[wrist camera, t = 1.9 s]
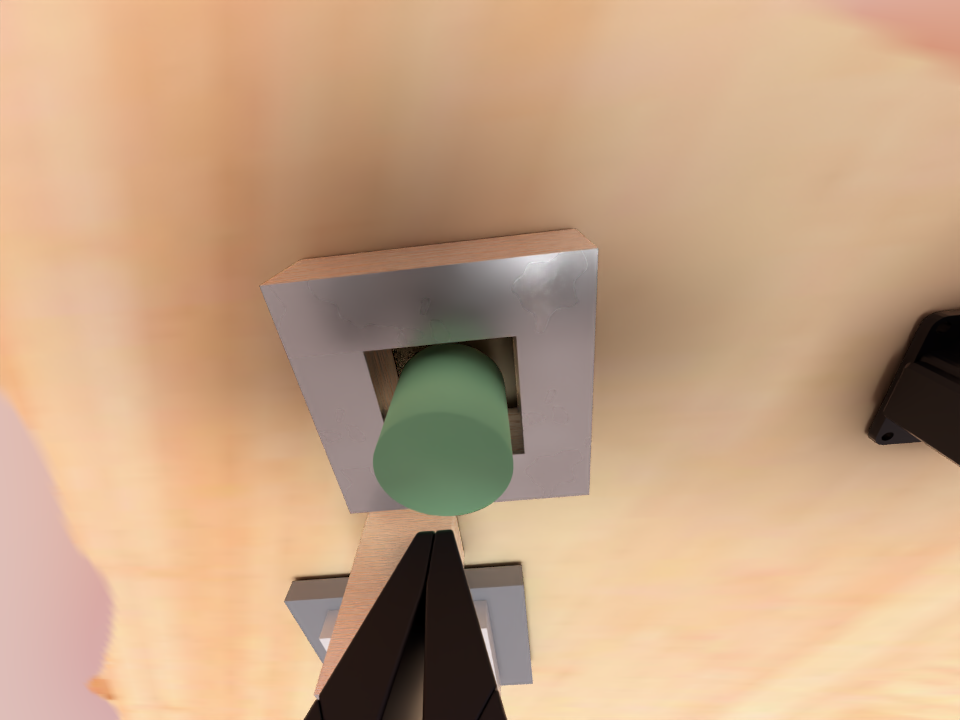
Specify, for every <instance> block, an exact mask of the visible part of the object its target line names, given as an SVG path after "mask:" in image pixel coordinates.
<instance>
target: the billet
mask: <svg viewBox="0 0 960 720" xmlns="http://www.w3.org/2000/svg"><path fill="white" fill-rule="evenodd" d="M448 529H451V530H453V532H454V535H455V539H456V542H457V546H458V549H459V553H460V557H461V560H462V564H463V567H464V550H463V545H462V541H461V536H460V531H459V526H458V521H457V516H435V515H428V514H424V513H420V512H417V511H414V510H411V509H400V510H388V511H375V512H369V513H368V516H367V519H366V523H365V526H364V529H363V533H362V536H361V539H360V543H359V546H358V549H357V553H356V556H355V559H354V563H353V566H352V569H351V573H350V576H349V579H348V583H347V586H346V589H345V593H344V596H343V599H342V603H341V606H340V609H339V613H338V616H337V619H336V623H335V626H334V629H333V633H332V636H331V639H330V643H329V646H328V649H327V653H326V656H325V659H324V663H323V666H322V669H321V673H320V676H319V679H318V683H317V686H316V689H315V693H314V696H315V697H316V698H317V699H319V694H320V692H321V691H322V689H323V687H324V686H325V684H326V682H327V681H328V679H329V677H330V676H331V674H332V672H333V671H334V669H335V667H336V666H337V664H338V662H339V661H340V659H341V657H342V656H343V654H344V652H345V651H346V649H347V648H348V646H349V644H350V643H351V641H352V639H353V638H354V636H355V634H356V633H357V631H358V629H359V628H360V626H361V624H362V623H363V621H364V619H365V618H366V616H367V614H368V613H369V611H370V609H371V608H372V606H373V605H374V603H375V601H376V600H377V598H378V596H379V595H380V593H381V591H382V590H383V588H384V586H385V585H386V583H387V581H388V580H389V578H390V576H391V575H392V573H393V571H394V570H395V568H396V566H397V565H398V563H399V562H400V560H401V558H402V557H403V555H404V553H405V552H406V550H407V548H408V547H409V545H410V543H411V542H412V540H413V538H414V537H415V535H416V534H417V533H418V532H421V531H434V532H435V533H436V531H438V530H448Z"/></svg>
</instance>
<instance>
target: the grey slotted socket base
mask: <svg viewBox="0 0 960 720" xmlns="http://www.w3.org/2000/svg"><path fill="white" fill-rule="evenodd" d="M464 571H465V574H466V578H467V581H468V585H469V588H470V592H471V595H472V599H473V602H474V606H475V609H476V613H477V616H478V620H479V623H480V627H481V630H482V634H483V638H484V641H485V645H486V648H487V652H488V655H489V659H490V662H491V666H492V669H493V673H494V676H495V680H496V683H497V688H498V691H499V693H500V697H501V690H500V685H518V684H533V681H532V670H531V660H530V649H529V638H528V628H527V617H526V606H525V596H524V585H523V575H522V565H515V566H501V567H486V568H472V569H464ZM348 579H349V577H345V578H331V579H316V580H302V581H293V582H292V584H291V586H290V589H289V591H288V594H287V596H286V598H285V601H284V602H285V604H286V605H287V607H288V608H289V610H290V612H291V613H292V615H293V616H294V618H295V620H296V621H297V623H298V624H299V626H300V628H301V629H302V631H303V632H304V634H305V636H306V637H307V639H308V640H309V642H310V644H311V645H312V647H313V648H314V650H315V652H316V653H317V655H318V657H319V658H320V660H321V661H322V663H324V659H325V656H326V653H327V649H328V646H329V643H330V639H331V636H332V633H333V629H334V626H335V623H336V619H337V616H338V613H339V609H340V606H341V603H342V599H343V596H344V593H345V589H346V586H347V583H348Z"/></svg>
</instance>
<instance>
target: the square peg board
mask: <svg viewBox="0 0 960 720" xmlns="http://www.w3.org/2000/svg"><path fill="white" fill-rule="evenodd" d="M597 273H598V247H597V246H595V245H594V244H593V243H592V242H591V241H589V240H588V239H587V238H586V237H585V236H584V235H582V234H581V233H580V232H579V231H578V230H577V229H566V230H557V231H548V232H539V233H531V234H522V235H513V236H504V237H496V238H487V239H478V240H469V241H460V242H452V243H443V244H434V245H425V246H416V247H408V248H399V249H390V250H381V251H372V252H364V253H355V254H346V255H337V256H329V257H320V258H311V259H302V260H299V261H297V262H296V263H294V264H293V265H291V266H289V267H288V268H286V269H285V270H283V271H282V272H280V273H278V274H277V275H275V276H274V277H272V278H271V279H269V280H267V281H266V282H264V283H263V284H261V285H260V289H261V291H262V294H263V296H264V299H265V301H266V304H267V306H268V309H269V311H270V314H271V316H272V319H273V321H274V324H275V326H276V329H277V331H278V334H279V336H280V339H281V341H282V344H283V346H284V349H285V351H286V354H287V356H288V359H289V361H290V364H291V366H292V369H293V371H294V374H295V376H296V379H297V381H298V384H299V386H300V389H301V391H302V394H303V396H304V399H305V401H306V404H307V406H308V409H309V411H310V414H311V416H312V419H313V421H314V424H315V426H316V429H317V431H318V434H319V436H320V439H321V441H322V444H323V446H324V449H325V451H326V454H327V456H328V459H329V461H330V464H331V466H332V469H333V471H334V474H335V476H336V479H337V481H338V484H339V486H340V489H341V491H342V494H343V496H344V499H345V501H346V504H347V506H348V509H349V511H350V513H362V512H375V511H388V510H400V509H409V508H407V507H405V506H403V505H401V504H400V503H398V502H396V501H395V500H394V499H392V498H391V497H390V496H389V495H388V494H387V493H386V492H385V491H384V490H383V488H382V487H381V486H380V484H379V482H378V481H377V478H376V476H375V473H374V469H373V454H374V451H375V448H376V445H377V442H378V439H379V436H380V433H381V430H382V427H383V424H384V421H385V418H386V415H387V412H388V410H389V407H390V404H391V401H392V398H393V395H394V392H395V389H396V386H397V383H398V380H399V378H398V374H397V370H396V366H395V362H394V358H393V354H392V350H391V349H392V348H402V347H412V346H421V345H431V344H441V343H451V342H461V341H471V340H481V339H491V338H501V337H511V336H512V339H513V352H514V365H515V378H516V391H517V404H518V407H515V408H507V409H508V418H509V427H510V436H511V446H512V455H513V475H512V478H511V481H510V483H509V485H508V487H507V489H506V490H505V491H504V493H503V494H502V495H501V496H500V497H499V498H498V499H497V500H495V501H494V502H502V501H514V500H527V499H539V498H552V497H565V496H577V495H589V484H590V457H591V431H592V405H593V378H594V352H595V325H596V299H597Z"/></svg>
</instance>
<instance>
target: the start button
mask: <svg viewBox="0 0 960 720" xmlns="http://www.w3.org/2000/svg"><path fill="white" fill-rule="evenodd" d="M373 469H374V473H375V476H376V478H377V481H378V482H379V484H380V486H381V487H382V488H383V490H384V491H385V492H386V493H387V494H388V495H389V496H390V497H391V498H392V499H394V500H395V501H396V502H398V503H400V504H401V505H403V506H405V507H407V508H409V509H411V510H414V511H417V512H420V513H424V514H428V515H435V516H457V515H464V514H468V513H472V512H475V511H478V510H480V509H482V508H485V507H486V506H488V505H490V504H491V503H493V502H494V501H495V500H497V499H498V498H499V497H500V496H501V495H502V494H503V493H504V491H505V490H506V489H507V487H508V485H509V483H510V481H511V478H512V475H513V455H512V446H511V436H510V427H509V418H508V409H507V400H506V391H505V383H504V379H503V376H502V373H501V371H500V369H499V368H498V366H497V365H496V364H495V363H494V361H493V360H492V359H491V358H489V357H488V356H487V355H486V354H484V353H483V352H481V351H479V350H477V349H475V348H473V347H469V346H466V345H462V344H453V343H448V344H438V345H434V346H431V347H428V348H426V349H423V350H422V351H420V352H418V353H417V354H415V355H414V356H413V357H412V358H411V359H410V360H409V361H408V362H407V363H406V365H405V366H404V368H403V370H402V372H401V374H400V377H399V380H398V383H397V386H396V389H395V392H394V395H393V398H392V401H391V404H390V407H389V410H388V412H387V415H386V418H385V421H384V424H383V427H382V430H381V433H380V436H379V439H378V442H377V445H376V448H375V451H374V454H373Z"/></svg>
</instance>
